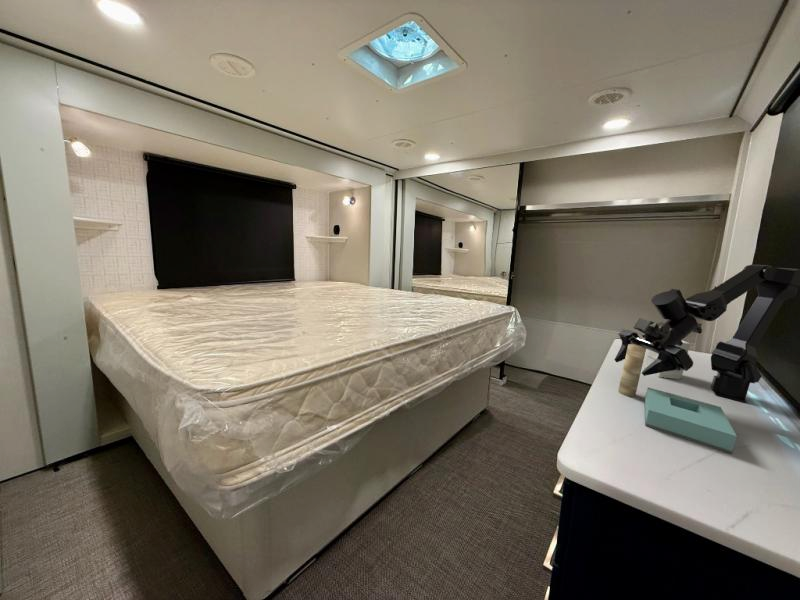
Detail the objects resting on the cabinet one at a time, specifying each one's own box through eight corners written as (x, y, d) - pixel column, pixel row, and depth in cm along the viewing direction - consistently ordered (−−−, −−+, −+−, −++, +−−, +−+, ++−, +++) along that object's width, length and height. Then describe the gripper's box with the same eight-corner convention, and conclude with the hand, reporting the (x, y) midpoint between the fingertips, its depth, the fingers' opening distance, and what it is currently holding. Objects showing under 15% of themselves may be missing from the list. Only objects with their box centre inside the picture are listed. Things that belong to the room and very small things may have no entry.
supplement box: (665, 370, 108) (673, 336, 106) (682, 379, 101) (691, 343, 99) (643, 368, 109) (650, 334, 107) (658, 377, 102) (666, 341, 99)
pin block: (716, 421, 75) (720, 406, 74) (731, 453, 63) (736, 436, 62) (644, 400, 84) (647, 387, 83) (645, 425, 71) (648, 409, 70)
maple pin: (635, 393, 88) (646, 346, 85) (635, 398, 85) (646, 350, 82) (618, 388, 90) (628, 343, 88) (617, 393, 87) (627, 346, 85)
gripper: (630, 303, 93) (590, 336, 93) (694, 318, 74) (643, 360, 75) (648, 329, 95) (608, 362, 96) (714, 350, 77) (665, 390, 77)
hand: (628, 367), depth 86 cm, fingers open, 9 cm apart
